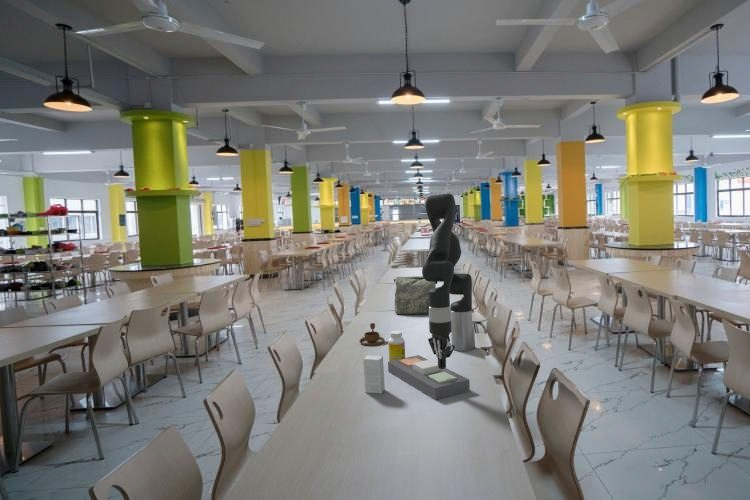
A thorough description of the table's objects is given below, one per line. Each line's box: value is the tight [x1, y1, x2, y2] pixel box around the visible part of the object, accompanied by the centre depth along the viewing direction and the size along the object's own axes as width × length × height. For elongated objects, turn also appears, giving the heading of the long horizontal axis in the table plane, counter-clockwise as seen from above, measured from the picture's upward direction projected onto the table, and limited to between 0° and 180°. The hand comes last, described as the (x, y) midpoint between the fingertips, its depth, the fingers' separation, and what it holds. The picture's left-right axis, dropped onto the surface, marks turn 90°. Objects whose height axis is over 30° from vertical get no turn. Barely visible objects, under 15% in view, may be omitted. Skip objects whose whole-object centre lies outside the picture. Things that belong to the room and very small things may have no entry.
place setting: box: [359, 322, 388, 347], centre depth 225 cm, size 18×20×6 cm
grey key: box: [412, 359, 440, 375], centre depth 170 cm, size 7×7×3 cm
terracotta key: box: [399, 356, 422, 367], centre depth 179 cm, size 7×7×3 cm
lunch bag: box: [393, 275, 438, 316], centre depth 281 cm, size 26×18×22 cm
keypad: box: [387, 354, 471, 401], centre depth 170 cm, size 14×32×4 cm, turn 27°
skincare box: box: [363, 355, 386, 394], centre depth 162 cm, size 6×4×12 cm
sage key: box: [428, 372, 456, 384], centre depth 161 cm, size 7×7×3 cm
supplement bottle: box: [387, 330, 406, 362], centre depth 190 cm, size 7×7×13 cm
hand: (442, 368), depth 161 cm, fingers closed
